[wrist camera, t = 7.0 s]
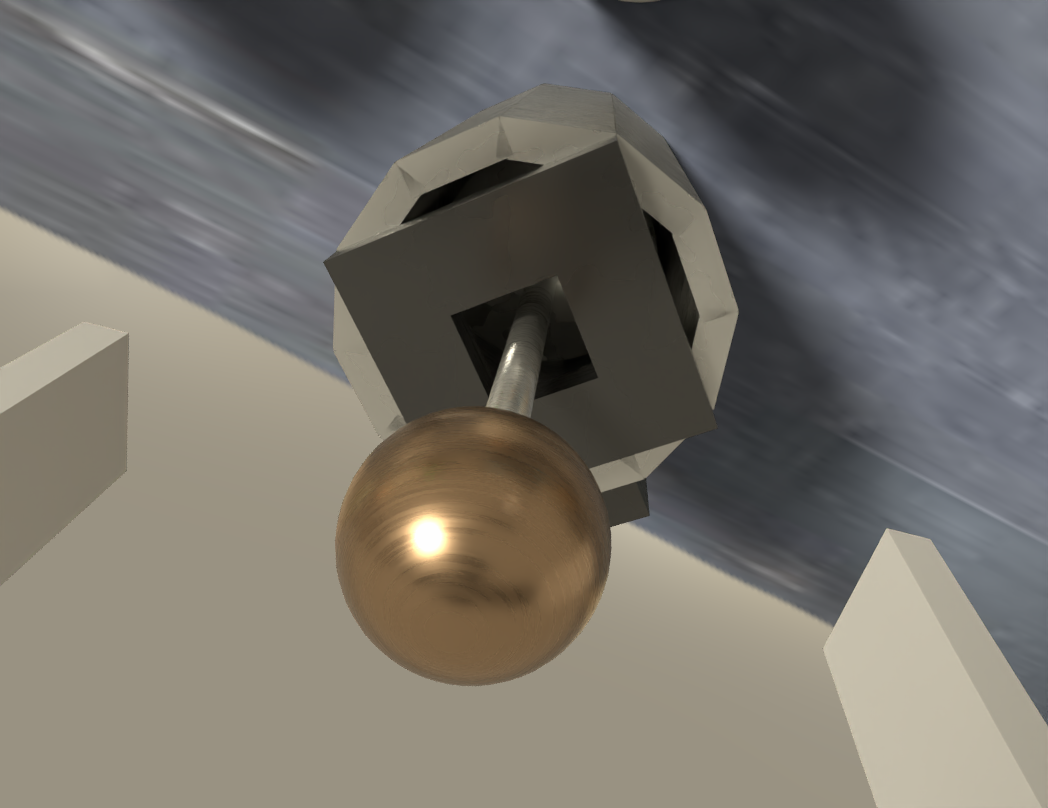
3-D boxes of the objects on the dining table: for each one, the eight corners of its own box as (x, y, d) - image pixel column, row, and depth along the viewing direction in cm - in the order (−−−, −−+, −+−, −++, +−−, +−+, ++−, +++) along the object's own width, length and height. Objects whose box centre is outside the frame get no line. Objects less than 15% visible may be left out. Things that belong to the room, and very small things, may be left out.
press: (632, 43, 33) (657, 49, 18) (729, 335, 38) (814, 539, 23) (400, 146, 36) (245, 228, 20) (518, 407, 41) (465, 634, 25)
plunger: (612, 107, 28) (631, 262, 9) (684, 314, 30) (819, 776, 11) (408, 194, 29) (51, 478, 10) (493, 381, 32) (334, 873, 13)
